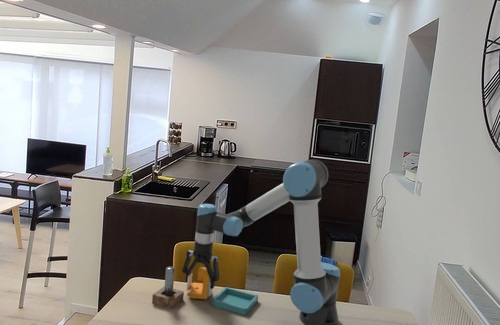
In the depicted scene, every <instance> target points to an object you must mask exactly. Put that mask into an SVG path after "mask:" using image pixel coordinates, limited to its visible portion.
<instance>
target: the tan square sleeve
mask: <svg viewBox="0 0 500 325" xmlns="http://www.w3.org/2000/svg"><path fill="white" fill-rule="evenodd" d="M164 288H165V285H164V286H163V287H161V288H160V289H159V290H157V291H155V292H154V293H153V294H152V298H151V300H152V301H151V303H152V304H155V305H159V306H161V307H165V308H169V309H173V308H175V307H176V306H177V305H178V304H180V303H181V302H182V301H183V300H184V294H185V292H184V291H183V290H180V289H176V288H173V296H171V297H169V296H166V295H164Z"/></svg>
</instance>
